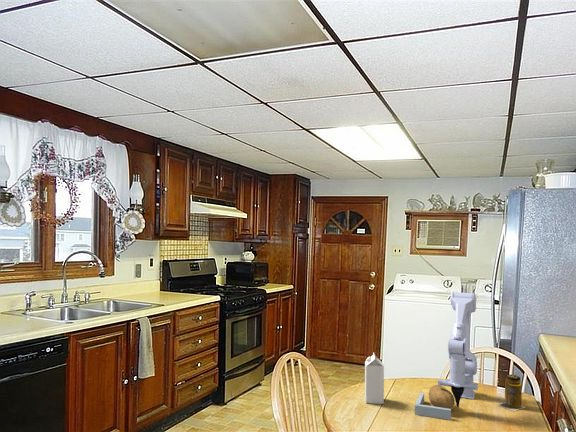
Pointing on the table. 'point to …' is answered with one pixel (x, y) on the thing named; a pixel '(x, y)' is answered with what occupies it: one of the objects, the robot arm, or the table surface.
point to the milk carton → (374, 380)
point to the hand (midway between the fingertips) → (457, 406)
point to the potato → (441, 397)
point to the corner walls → (431, 409)
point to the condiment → (513, 393)
